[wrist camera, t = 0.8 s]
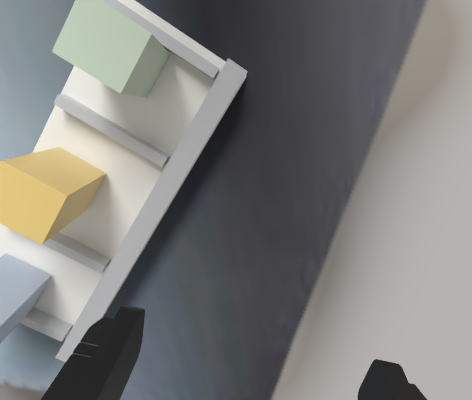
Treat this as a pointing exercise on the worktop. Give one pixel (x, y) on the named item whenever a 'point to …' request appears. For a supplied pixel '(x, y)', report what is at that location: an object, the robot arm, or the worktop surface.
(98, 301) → the white divided tray
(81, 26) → the pale green block
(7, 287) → the blue-grey block
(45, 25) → the worktop surface
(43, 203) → the yellow rectangular block
